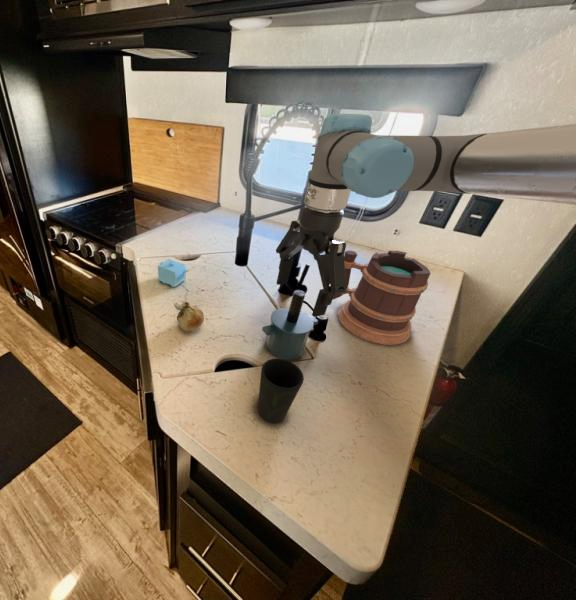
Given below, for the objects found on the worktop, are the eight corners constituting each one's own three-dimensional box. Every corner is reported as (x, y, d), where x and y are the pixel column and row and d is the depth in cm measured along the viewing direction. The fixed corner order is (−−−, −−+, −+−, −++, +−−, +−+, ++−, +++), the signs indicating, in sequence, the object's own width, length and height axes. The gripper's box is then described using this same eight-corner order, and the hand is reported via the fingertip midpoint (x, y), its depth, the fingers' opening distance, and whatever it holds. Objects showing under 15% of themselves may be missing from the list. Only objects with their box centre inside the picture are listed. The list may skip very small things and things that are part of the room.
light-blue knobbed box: (193, 284, 106) (194, 264, 102) (183, 292, 102) (183, 272, 98) (165, 273, 112) (165, 255, 108) (155, 280, 108) (154, 261, 104)
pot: (319, 352, 79) (328, 327, 75) (269, 365, 76) (276, 339, 71) (297, 330, 87) (304, 305, 82) (251, 341, 83) (255, 316, 78)
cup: (275, 392, 69) (286, 354, 62) (297, 420, 64) (312, 382, 57) (245, 402, 67) (253, 364, 60) (266, 433, 61) (277, 394, 54)
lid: (321, 332, 74) (332, 301, 69) (285, 340, 72) (294, 309, 66) (295, 308, 82) (304, 278, 77) (262, 315, 79) (268, 285, 74)
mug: (335, 292, 102) (355, 235, 91) (415, 320, 90) (451, 259, 79) (313, 318, 91) (333, 257, 79) (402, 355, 79) (441, 289, 67)
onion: (180, 338, 84) (181, 315, 79) (173, 320, 90) (173, 298, 85) (207, 334, 85) (209, 310, 81) (197, 316, 92) (199, 294, 87)
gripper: (271, 191, 69) (256, 274, 81) (357, 233, 49) (321, 335, 61) (300, 188, 71) (281, 270, 83) (394, 227, 51) (352, 327, 63)
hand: (298, 298), depth 72 cm, fingers open, 13 cm apart
